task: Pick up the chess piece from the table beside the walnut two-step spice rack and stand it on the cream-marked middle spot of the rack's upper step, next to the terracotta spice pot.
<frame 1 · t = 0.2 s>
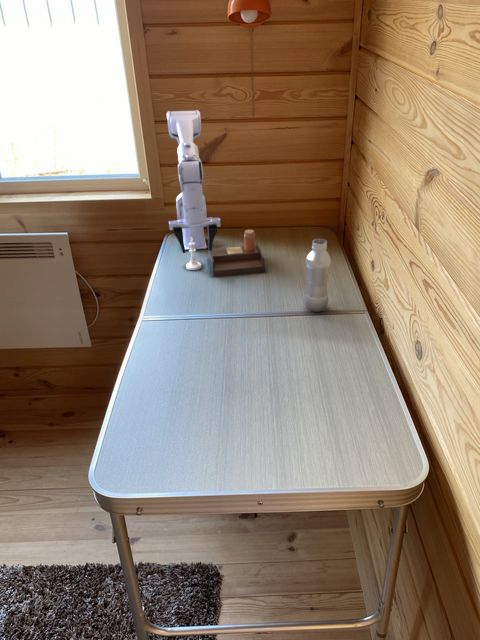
hand: (197, 250, 152), 10 cm above the table, tool pointing down, fingers open, 7 cm apart
chess piece: (193, 267, 166), on the table
plastic bottle: (315, 309, 144), on the table
spice pot: (249, 249, 167), point 4 cm above the table, touching spice rack
spice rack: (236, 266, 166), on the table
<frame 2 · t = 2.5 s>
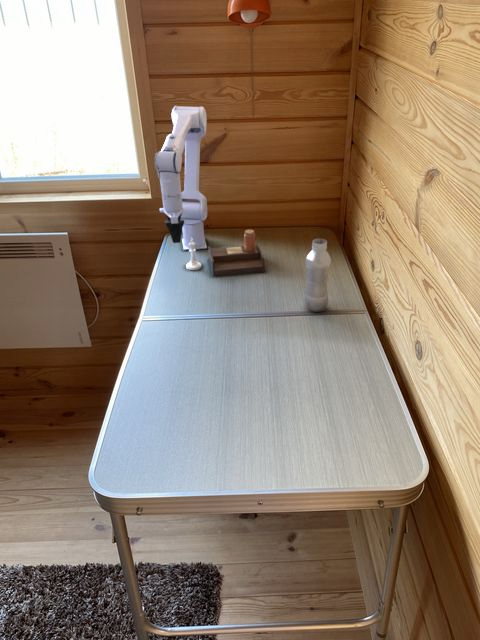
hand: (176, 237, 159), 10 cm above the table, tool pointing down, fingers open, 7 cm apart
nothing on the table moved.
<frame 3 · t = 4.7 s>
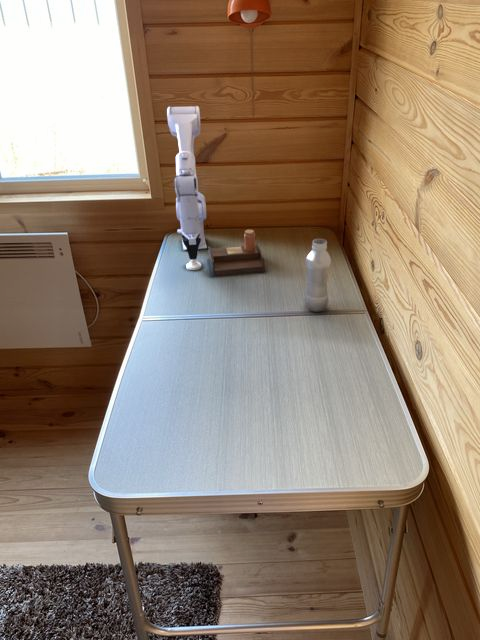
hand: (192, 257, 164), 3 cm above the table, tool pointing down, fingers closed on chess piece
chess piece: (193, 267, 166), on the table, touching gripper
everything else where it was.
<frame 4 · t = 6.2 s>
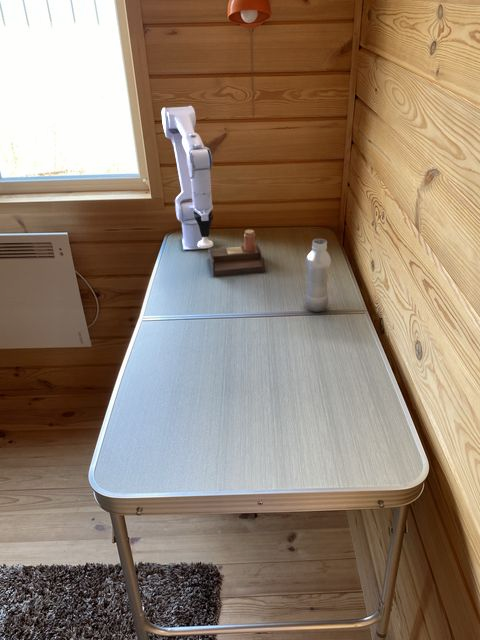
hand: (204, 234, 161), 10 cm above the table, tool pointing down, fingers closed on chess piece
chess piece: (205, 245, 163), point 7 cm above the table, touching gripper
everything else where it was.
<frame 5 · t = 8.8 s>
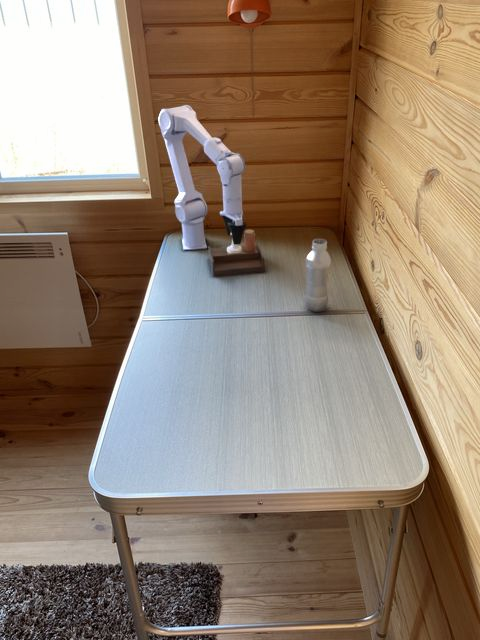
hand: (234, 239, 164), 8 cm above the table, tool pointing down, fingers open, 7 cm apart
chess piece: (234, 250, 166), point 4 cm above the table, touching spice rack
everything else where it was.
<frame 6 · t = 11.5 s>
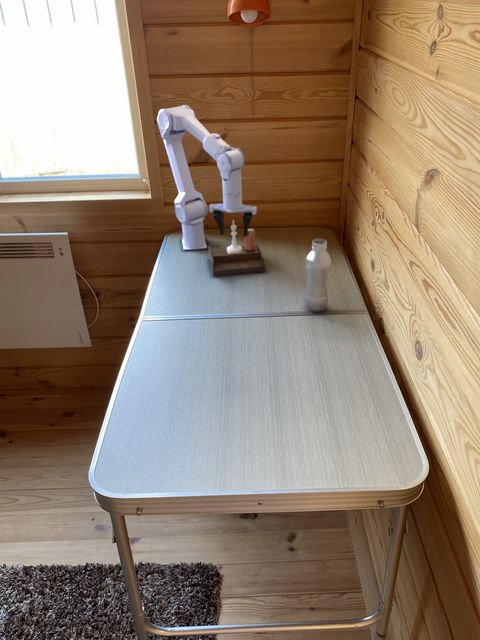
hand: (234, 234, 163), 9 cm above the table, tool pointing down, fingers open, 7 cm apart
spice pot: (249, 248, 167), point 4 cm above the table, tilted 7°, touching gripper, spice rack
everything else where it was.
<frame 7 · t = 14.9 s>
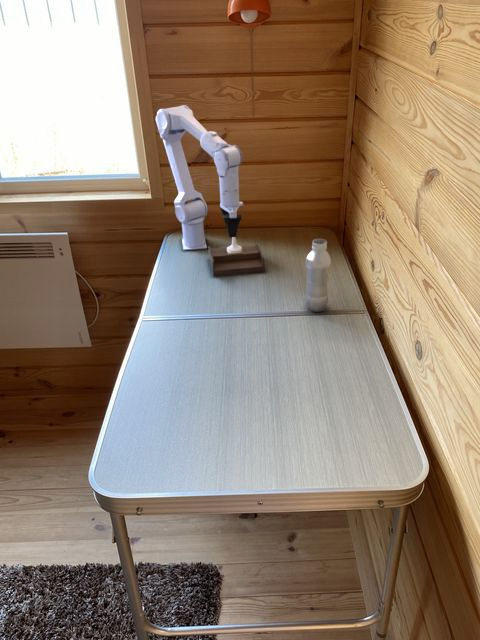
hand: (231, 232, 162), 10 cm above the table, tool pointing down, fingers open, 7 cm apart
spice pot: (216, 356, 254), on the floor, tilted 90°
everything else where it was.
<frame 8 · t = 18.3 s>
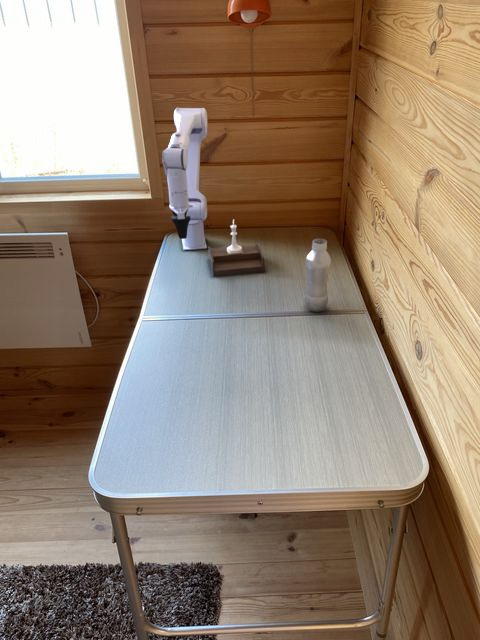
hand: (182, 233, 162), 10 cm above the table, tool pointing down, fingers open, 7 cm apart
spice pot: (142, 321, 282), on the floor, tilted 90°
everything else where it was.
at the end: chess piece 0.0 cm from the target spot on the spice rack, point 4.0 cm above the spice rack's base; chess piece tilted 0°; the gripper is holding nothing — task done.
